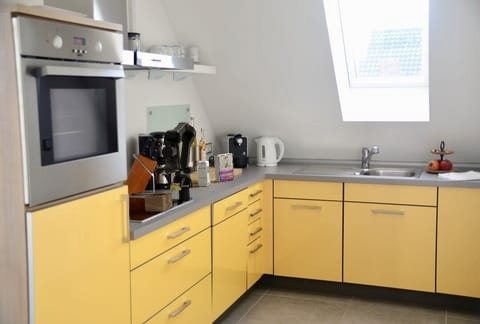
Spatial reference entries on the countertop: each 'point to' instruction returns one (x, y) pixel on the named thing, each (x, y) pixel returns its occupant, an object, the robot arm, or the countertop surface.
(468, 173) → the countertop surface
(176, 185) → the token
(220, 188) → the countertop surface
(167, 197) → the money box
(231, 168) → the candy bar box
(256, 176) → the countertop surface
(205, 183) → the syrup box
